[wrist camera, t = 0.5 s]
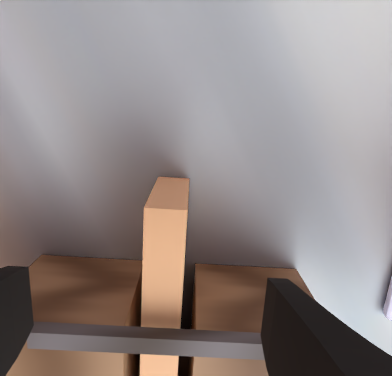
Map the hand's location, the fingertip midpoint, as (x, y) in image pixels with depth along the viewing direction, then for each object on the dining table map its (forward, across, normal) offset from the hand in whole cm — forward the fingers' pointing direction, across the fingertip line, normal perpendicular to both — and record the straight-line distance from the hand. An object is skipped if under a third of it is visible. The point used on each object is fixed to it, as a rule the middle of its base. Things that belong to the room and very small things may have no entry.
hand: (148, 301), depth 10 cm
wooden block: (+10, 0, +8) cm, 13 cm away
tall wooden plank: (+10, 0, +4) cm, 11 cm away
